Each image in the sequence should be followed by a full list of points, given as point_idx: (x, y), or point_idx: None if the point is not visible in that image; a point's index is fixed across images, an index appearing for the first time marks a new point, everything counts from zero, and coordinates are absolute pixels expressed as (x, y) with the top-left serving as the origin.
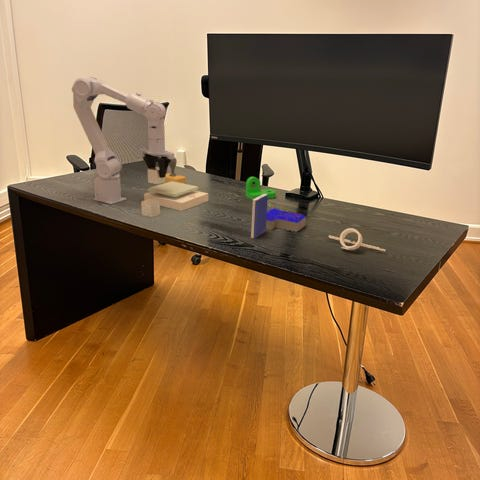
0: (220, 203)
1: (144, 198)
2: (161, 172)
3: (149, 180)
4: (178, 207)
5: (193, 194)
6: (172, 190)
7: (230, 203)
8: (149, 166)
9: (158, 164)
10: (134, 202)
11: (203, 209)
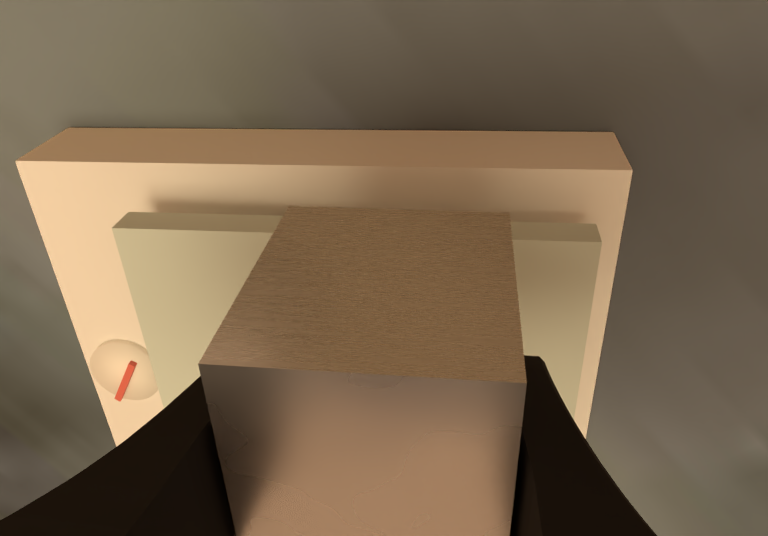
0: (66, 454)
1: (614, 146)
2: (177, 399)
3: (473, 231)
4: (94, 138)
5: None
6: None
7: (26, 483)
8: (532, 487)
9: (127, 533)
10: (714, 37)
11: (5, 280)
